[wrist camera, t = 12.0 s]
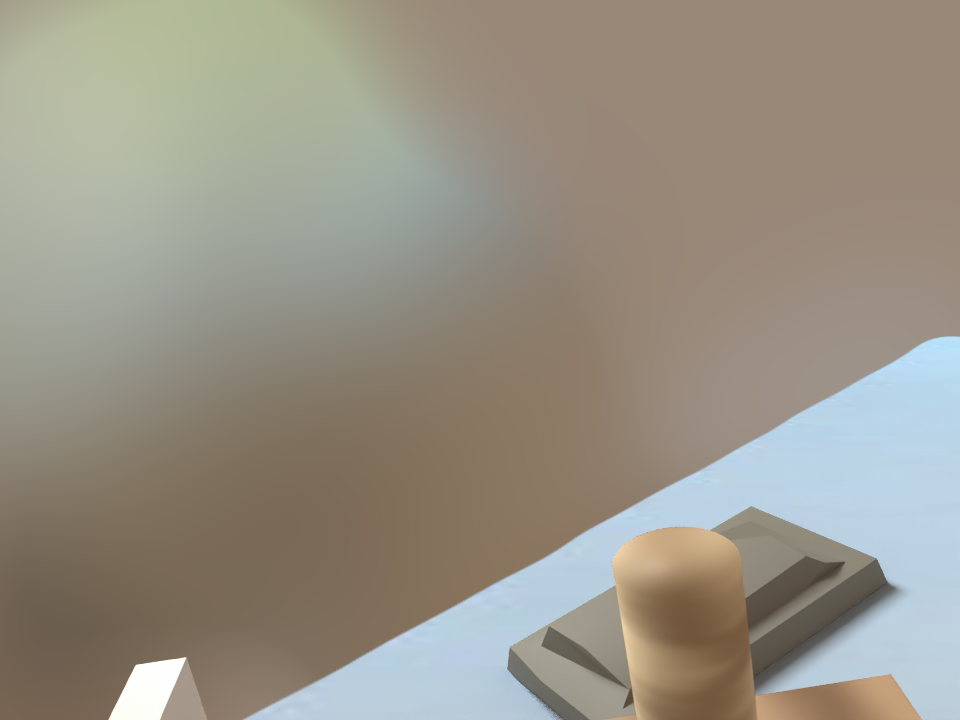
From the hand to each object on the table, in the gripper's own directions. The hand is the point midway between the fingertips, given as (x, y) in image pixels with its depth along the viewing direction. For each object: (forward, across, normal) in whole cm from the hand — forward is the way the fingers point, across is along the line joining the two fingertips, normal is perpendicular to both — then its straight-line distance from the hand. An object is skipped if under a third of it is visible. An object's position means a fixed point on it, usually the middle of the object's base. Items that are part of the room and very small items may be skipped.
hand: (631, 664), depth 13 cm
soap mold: (+30, +7, -24) cm, 40 cm away
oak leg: (+13, +4, -23) cm, 27 cm away
